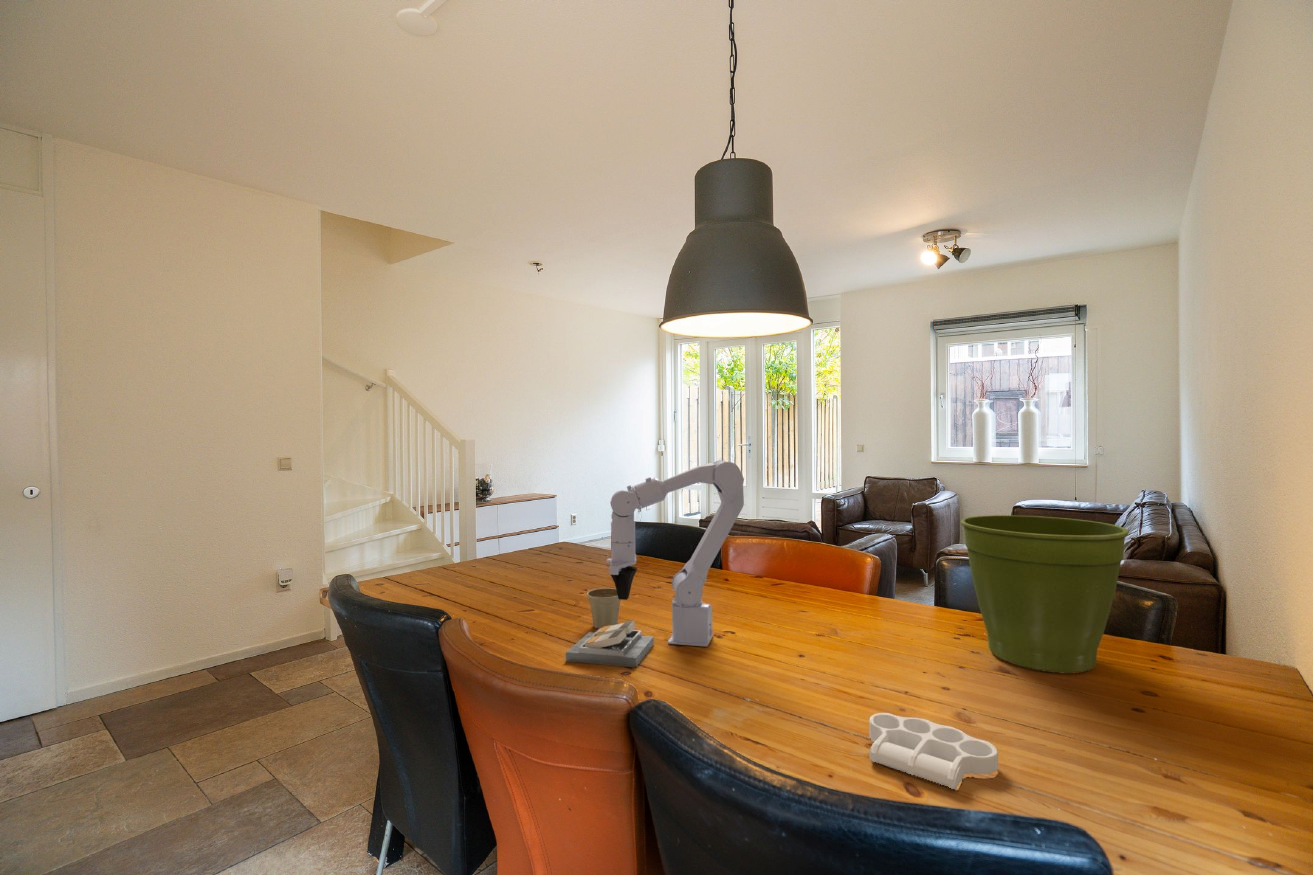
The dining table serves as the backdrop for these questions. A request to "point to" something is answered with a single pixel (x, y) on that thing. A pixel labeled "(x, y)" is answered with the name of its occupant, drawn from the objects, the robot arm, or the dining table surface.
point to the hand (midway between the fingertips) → (623, 598)
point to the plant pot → (1044, 586)
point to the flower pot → (604, 606)
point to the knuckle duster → (929, 749)
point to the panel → (612, 650)
